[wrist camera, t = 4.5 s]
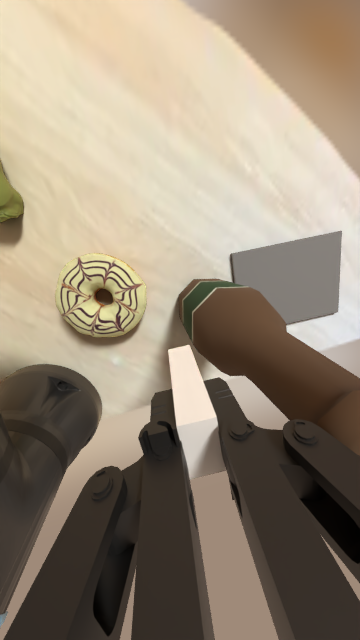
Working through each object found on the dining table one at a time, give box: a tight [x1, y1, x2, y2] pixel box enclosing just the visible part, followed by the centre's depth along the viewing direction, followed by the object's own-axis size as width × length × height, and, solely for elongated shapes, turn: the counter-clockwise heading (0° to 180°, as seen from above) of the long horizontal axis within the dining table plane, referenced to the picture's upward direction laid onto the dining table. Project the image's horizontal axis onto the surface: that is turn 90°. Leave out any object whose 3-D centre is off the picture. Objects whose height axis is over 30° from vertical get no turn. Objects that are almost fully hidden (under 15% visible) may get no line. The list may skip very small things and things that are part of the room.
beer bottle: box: [179, 279, 360, 456], centre depth 17 cm, size 8×8×24 cm
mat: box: [231, 231, 342, 324], centre depth 29 cm, size 16×12×1 cm
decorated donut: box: [55, 253, 146, 338], centre depth 25 cm, size 10×11×4 cm
